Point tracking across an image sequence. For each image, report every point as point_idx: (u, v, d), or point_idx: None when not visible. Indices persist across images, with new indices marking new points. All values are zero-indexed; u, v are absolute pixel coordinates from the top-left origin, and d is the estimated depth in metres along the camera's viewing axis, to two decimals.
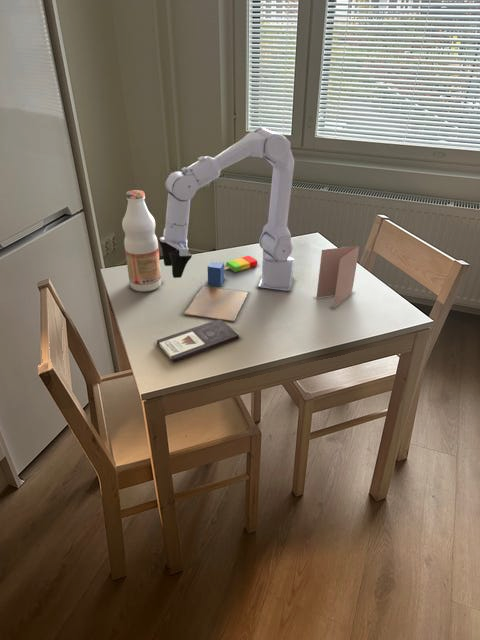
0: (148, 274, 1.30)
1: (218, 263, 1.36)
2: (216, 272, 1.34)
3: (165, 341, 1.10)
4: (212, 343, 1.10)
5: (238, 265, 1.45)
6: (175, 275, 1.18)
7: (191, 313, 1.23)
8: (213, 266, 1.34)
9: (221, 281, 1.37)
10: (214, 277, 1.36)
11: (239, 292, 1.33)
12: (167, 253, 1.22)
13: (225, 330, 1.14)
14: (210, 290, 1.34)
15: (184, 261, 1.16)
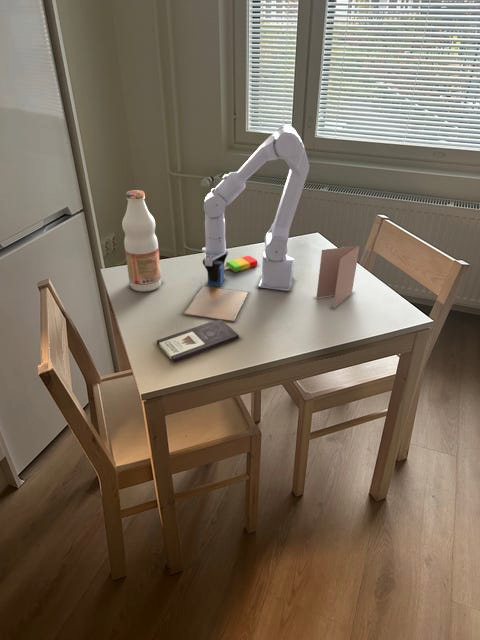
0: (148, 274, 1.30)
1: None
2: None
3: (165, 341, 1.10)
4: (212, 343, 1.10)
5: (238, 265, 1.45)
6: (211, 279, 1.35)
7: (191, 313, 1.23)
8: None
9: (221, 281, 1.37)
10: None
11: (239, 292, 1.33)
12: None
13: (225, 330, 1.14)
14: (210, 290, 1.34)
15: (216, 268, 1.32)
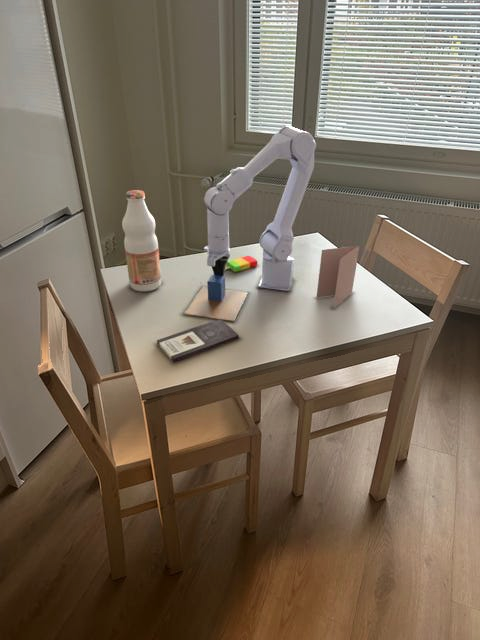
0: (148, 274, 1.30)
1: (219, 277, 1.28)
2: (217, 287, 1.26)
3: (165, 341, 1.10)
4: (212, 343, 1.10)
5: (238, 265, 1.45)
6: None
7: (191, 313, 1.23)
8: (213, 280, 1.26)
9: (222, 296, 1.29)
10: (215, 292, 1.27)
11: (239, 292, 1.33)
12: None
13: (225, 330, 1.14)
14: None
15: None
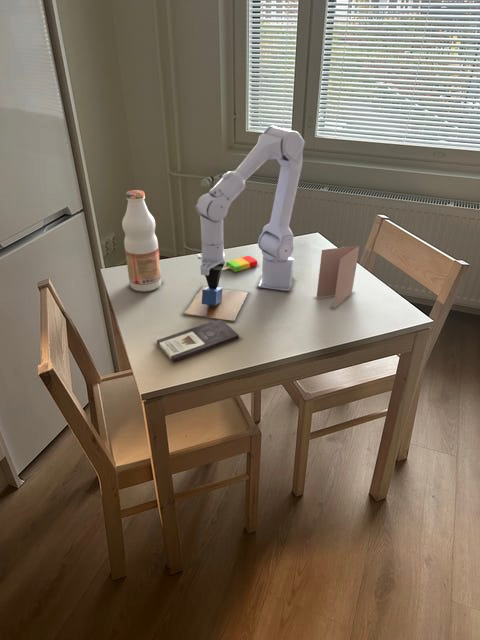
0: (148, 274, 1.30)
1: (211, 294, 1.22)
2: None
3: (165, 341, 1.10)
4: (212, 343, 1.10)
5: (238, 265, 1.45)
6: (210, 286, 1.24)
7: (191, 313, 1.23)
8: (207, 302, 1.23)
9: (220, 298, 1.27)
10: None
11: (239, 292, 1.33)
12: None
13: (225, 330, 1.14)
14: None
15: None
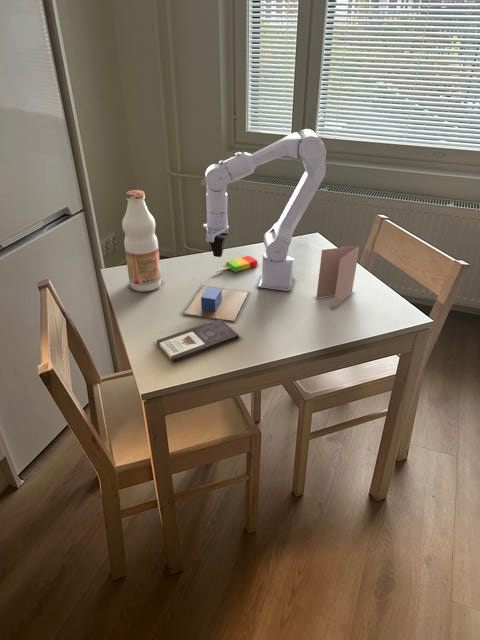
0: (148, 274, 1.30)
1: (209, 302, 1.22)
2: None
3: (165, 341, 1.10)
4: (212, 343, 1.10)
5: (238, 265, 1.45)
6: (215, 254, 1.32)
7: (191, 313, 1.23)
8: (207, 308, 1.24)
9: (220, 300, 1.27)
10: None
11: (239, 292, 1.33)
12: None
13: (225, 330, 1.14)
14: None
15: (220, 242, 1.29)
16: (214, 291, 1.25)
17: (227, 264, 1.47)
